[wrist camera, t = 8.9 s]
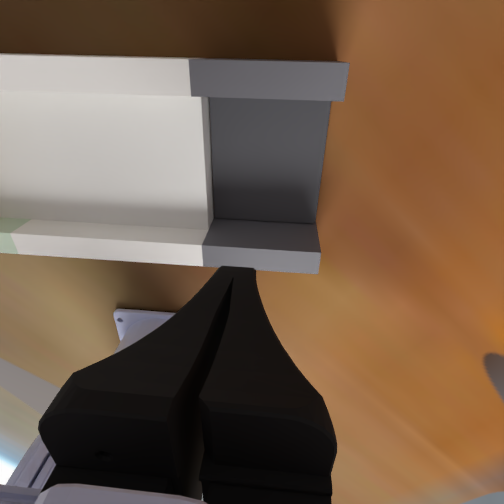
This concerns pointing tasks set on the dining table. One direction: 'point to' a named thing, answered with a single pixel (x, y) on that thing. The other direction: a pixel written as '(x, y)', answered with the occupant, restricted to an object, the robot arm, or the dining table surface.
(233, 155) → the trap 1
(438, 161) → the dining table surface
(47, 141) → the trap box
